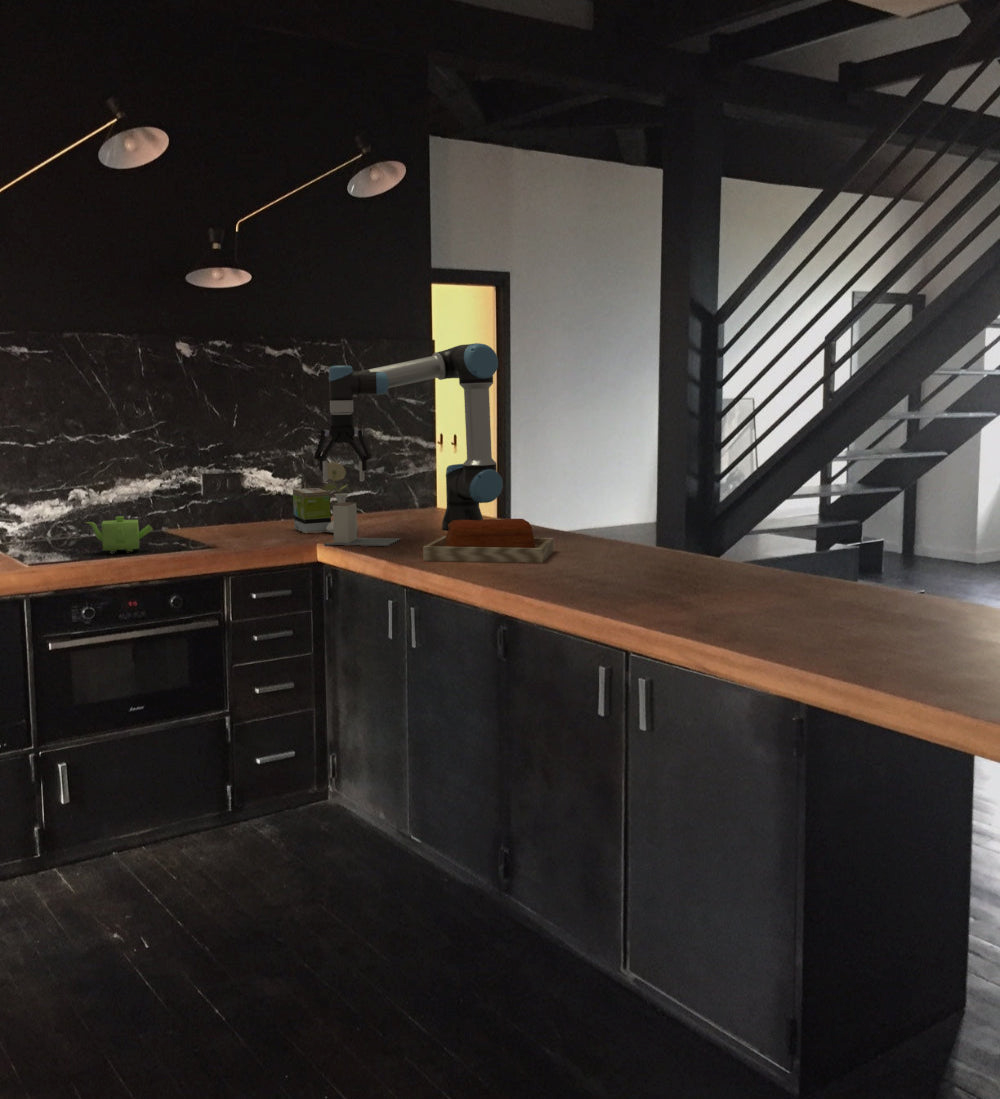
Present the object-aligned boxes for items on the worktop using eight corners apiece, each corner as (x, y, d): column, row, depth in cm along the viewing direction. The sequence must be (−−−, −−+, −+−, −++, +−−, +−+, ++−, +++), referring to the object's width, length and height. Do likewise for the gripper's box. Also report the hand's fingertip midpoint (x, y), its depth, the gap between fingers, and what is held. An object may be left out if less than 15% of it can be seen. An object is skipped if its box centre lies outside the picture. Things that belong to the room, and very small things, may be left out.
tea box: (293, 529, 411) (291, 488, 409) (320, 528, 415) (319, 487, 413) (304, 534, 398) (303, 492, 396) (332, 532, 402) (331, 490, 400)
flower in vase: (364, 532, 402) (363, 461, 398) (347, 536, 392) (345, 463, 388) (333, 530, 407) (331, 460, 404) (315, 534, 397) (313, 462, 394)
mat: (400, 540, 379) (400, 538, 379) (387, 546, 363) (387, 544, 363) (340, 539, 383) (340, 537, 383) (324, 545, 367) (324, 543, 367)
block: (357, 539, 378) (356, 502, 376) (348, 542, 369) (347, 505, 368) (342, 538, 379) (341, 502, 377) (333, 542, 370) (332, 505, 369)
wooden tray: (553, 554, 350) (553, 538, 350) (541, 566, 327) (541, 548, 326) (442, 552, 357) (442, 536, 356) (423, 563, 334) (423, 546, 333)
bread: (538, 557, 336) (538, 521, 335) (448, 560, 332) (447, 523, 331) (529, 550, 351) (529, 515, 350) (443, 552, 348) (442, 518, 346)
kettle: (86, 553, 355) (84, 517, 353) (120, 548, 367) (118, 513, 366) (122, 556, 348) (120, 519, 347) (155, 550, 361) (153, 515, 359)
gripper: (381, 413, 370) (382, 480, 373) (310, 413, 374) (312, 479, 377) (374, 413, 363) (375, 482, 366) (302, 414, 367) (304, 481, 370)
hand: (343, 481), depth 371 cm, fingers open, 12 cm apart
